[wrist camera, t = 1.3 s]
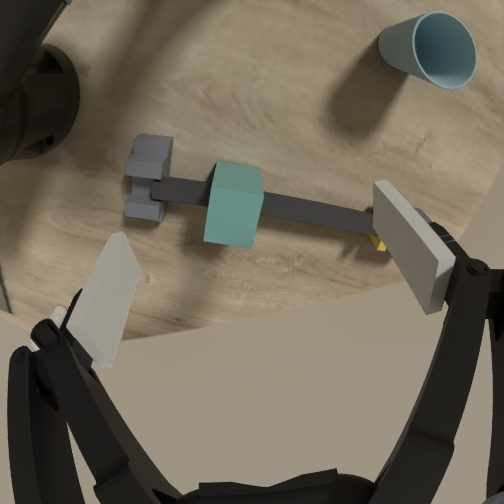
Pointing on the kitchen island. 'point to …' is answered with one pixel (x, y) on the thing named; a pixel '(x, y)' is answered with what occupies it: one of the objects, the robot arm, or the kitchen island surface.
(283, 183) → the kitchen island surface
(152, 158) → the grey stepped brick
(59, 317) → the lightbulb
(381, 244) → the dark grey long bar
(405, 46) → the cup
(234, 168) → the sleeve
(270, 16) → the kitchen island surface
